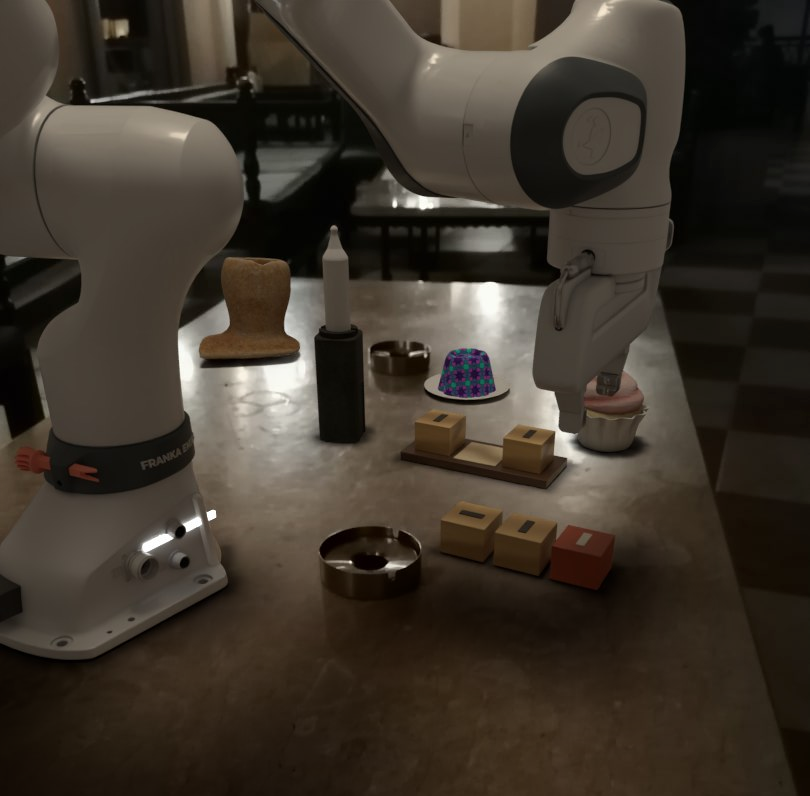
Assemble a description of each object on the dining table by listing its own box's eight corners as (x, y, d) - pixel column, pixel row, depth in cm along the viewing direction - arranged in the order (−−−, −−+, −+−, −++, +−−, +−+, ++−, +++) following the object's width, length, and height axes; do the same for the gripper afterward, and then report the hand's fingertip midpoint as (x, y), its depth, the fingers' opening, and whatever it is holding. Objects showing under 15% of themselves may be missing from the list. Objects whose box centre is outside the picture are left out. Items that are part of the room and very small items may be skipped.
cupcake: (624, 464, 104) (634, 381, 99) (552, 446, 109) (558, 365, 104) (657, 439, 111) (668, 360, 106) (588, 423, 116) (596, 346, 111)
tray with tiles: (545, 489, 99) (548, 450, 97) (400, 459, 106) (399, 422, 104) (566, 465, 104) (570, 428, 102) (426, 438, 112) (427, 403, 109)
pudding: (492, 372, 134) (493, 337, 131) (522, 399, 123) (524, 362, 121) (414, 380, 131) (414, 344, 128) (438, 408, 121) (438, 370, 118)
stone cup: (299, 341, 148) (293, 247, 141) (300, 364, 138) (294, 263, 131) (206, 345, 147) (195, 250, 140) (199, 368, 136) (187, 266, 129)
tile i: (483, 562, 85) (484, 528, 83) (440, 551, 87) (440, 518, 85) (501, 542, 88) (503, 509, 87) (459, 532, 90) (460, 499, 89)
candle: (357, 443, 110) (350, 230, 98) (317, 440, 111) (305, 229, 99) (367, 428, 115) (361, 222, 103) (328, 425, 116) (318, 221, 104)
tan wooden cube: (538, 576, 83) (541, 541, 81) (492, 565, 85) (494, 531, 83) (555, 554, 86) (557, 521, 84) (511, 544, 88) (512, 511, 86)
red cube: (597, 590, 80) (600, 555, 79) (548, 578, 82) (551, 544, 81) (611, 567, 84) (615, 533, 82) (565, 556, 86) (568, 523, 84)
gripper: (605, 271, 60) (587, 463, 66) (679, 221, 75) (659, 380, 82) (516, 263, 62) (507, 448, 69) (606, 216, 78) (591, 370, 85)
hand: (590, 410), depth 76 cm, fingers open, 8 cm apart
